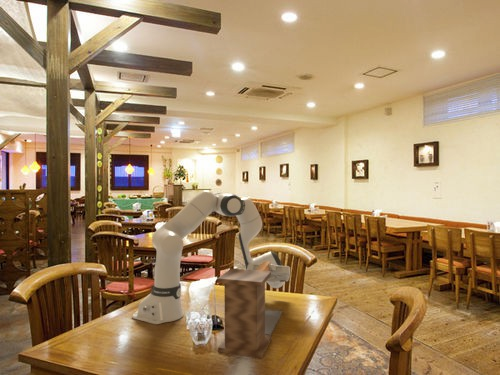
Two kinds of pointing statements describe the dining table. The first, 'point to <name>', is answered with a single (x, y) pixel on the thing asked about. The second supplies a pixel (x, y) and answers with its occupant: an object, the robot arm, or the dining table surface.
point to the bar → (264, 266)
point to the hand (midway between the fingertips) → (265, 265)
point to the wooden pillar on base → (245, 312)
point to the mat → (271, 320)
